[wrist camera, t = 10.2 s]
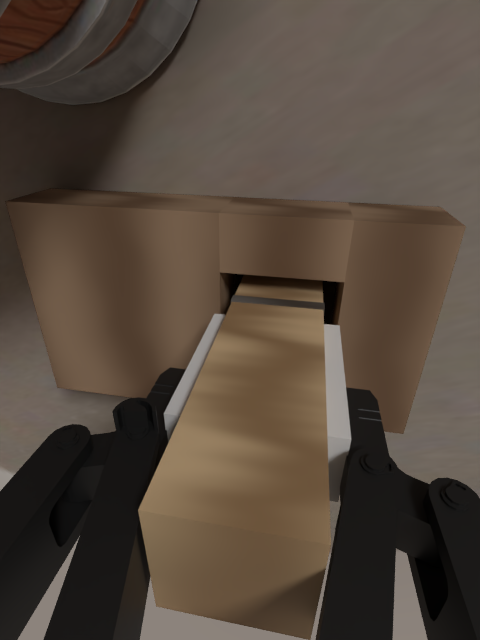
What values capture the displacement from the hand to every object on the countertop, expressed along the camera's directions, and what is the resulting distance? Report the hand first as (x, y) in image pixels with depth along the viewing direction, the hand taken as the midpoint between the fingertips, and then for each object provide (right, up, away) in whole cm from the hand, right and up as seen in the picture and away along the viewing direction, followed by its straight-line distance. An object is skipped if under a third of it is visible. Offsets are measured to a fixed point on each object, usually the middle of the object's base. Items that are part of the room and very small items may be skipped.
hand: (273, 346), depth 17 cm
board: (-2, +3, +5) cm, 6 cm away
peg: (+1, +2, +4) cm, 4 cm away
